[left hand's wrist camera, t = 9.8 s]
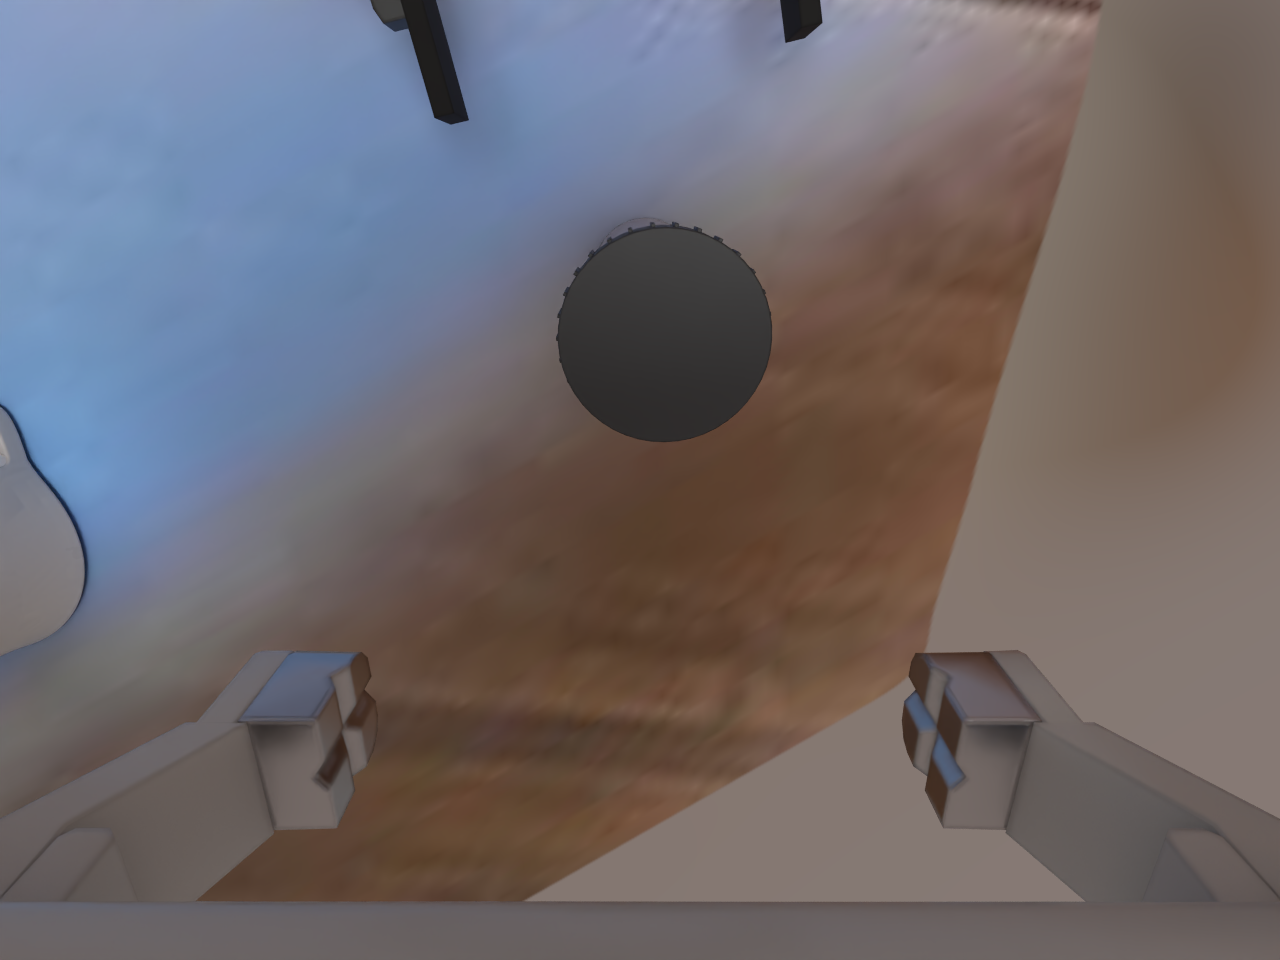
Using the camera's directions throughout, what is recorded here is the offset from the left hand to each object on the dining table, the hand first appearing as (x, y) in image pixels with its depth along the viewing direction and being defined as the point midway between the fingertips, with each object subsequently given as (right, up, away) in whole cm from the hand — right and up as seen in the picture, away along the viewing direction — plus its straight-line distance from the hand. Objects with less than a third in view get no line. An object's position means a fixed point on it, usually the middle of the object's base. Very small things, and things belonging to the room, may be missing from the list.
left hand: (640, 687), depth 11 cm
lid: (+1, +7, +9) cm, 11 cm away
